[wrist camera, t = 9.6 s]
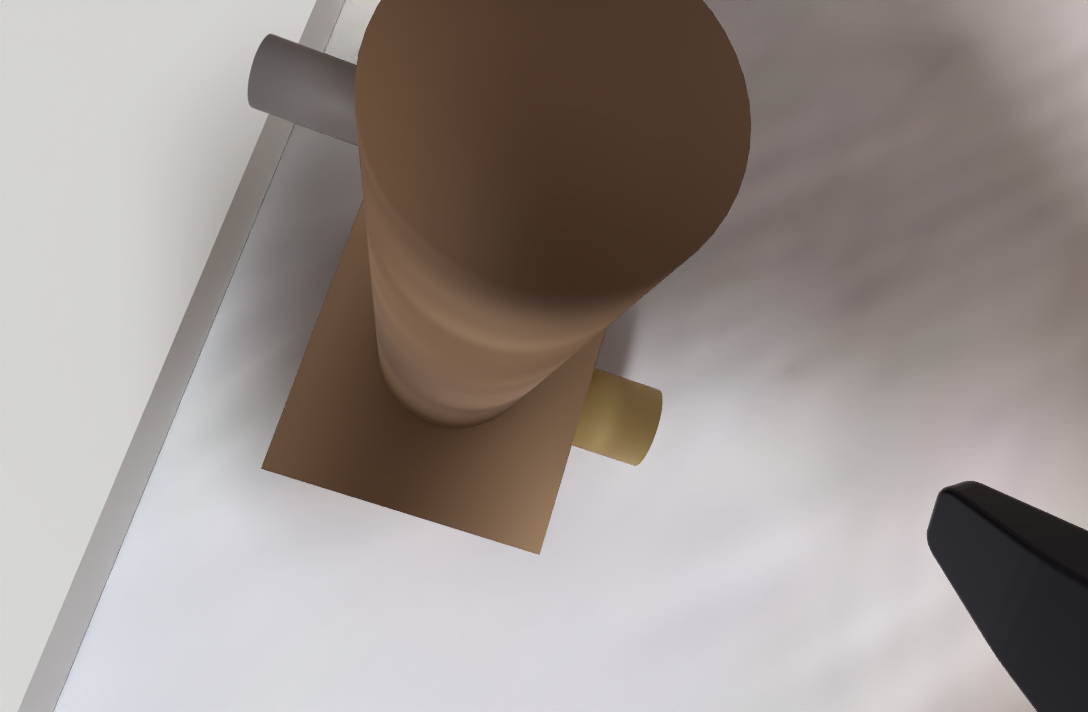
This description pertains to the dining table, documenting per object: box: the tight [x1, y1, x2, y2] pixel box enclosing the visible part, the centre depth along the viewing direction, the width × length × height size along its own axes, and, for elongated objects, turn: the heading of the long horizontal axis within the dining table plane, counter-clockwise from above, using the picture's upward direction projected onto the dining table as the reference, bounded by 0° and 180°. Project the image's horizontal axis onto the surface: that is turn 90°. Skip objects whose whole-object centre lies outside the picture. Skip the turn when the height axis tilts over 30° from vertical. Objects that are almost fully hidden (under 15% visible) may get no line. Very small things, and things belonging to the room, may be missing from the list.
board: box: [0, 0, 345, 712], centre depth 16 cm, size 7×24×2 cm, turn 163°
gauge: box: [247, 0, 751, 554], centre depth 12 cm, size 7×6×13 cm
